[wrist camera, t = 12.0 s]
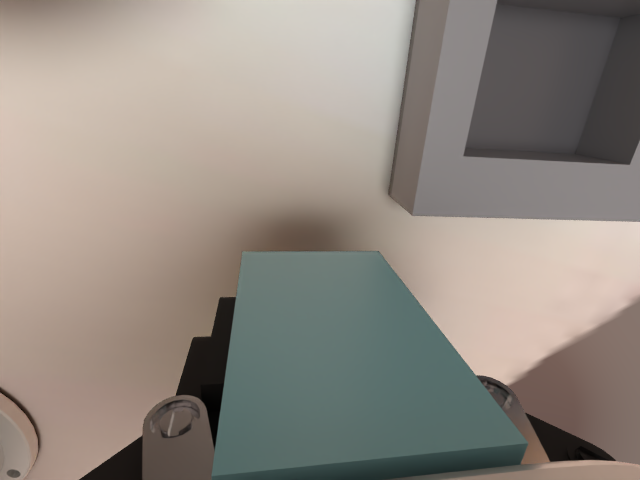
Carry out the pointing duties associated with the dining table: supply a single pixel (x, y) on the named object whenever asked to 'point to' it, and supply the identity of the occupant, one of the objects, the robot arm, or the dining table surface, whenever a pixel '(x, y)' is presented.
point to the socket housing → (521, 111)
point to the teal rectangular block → (347, 379)
